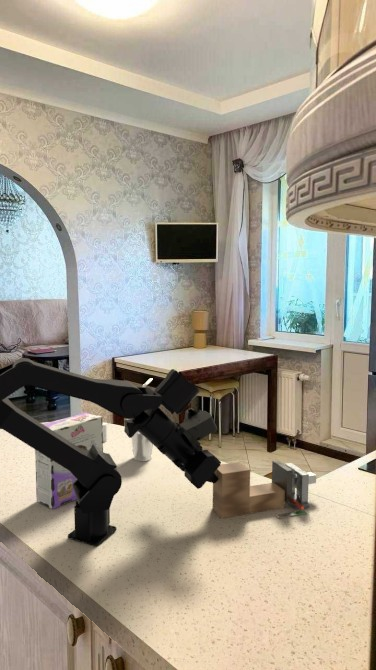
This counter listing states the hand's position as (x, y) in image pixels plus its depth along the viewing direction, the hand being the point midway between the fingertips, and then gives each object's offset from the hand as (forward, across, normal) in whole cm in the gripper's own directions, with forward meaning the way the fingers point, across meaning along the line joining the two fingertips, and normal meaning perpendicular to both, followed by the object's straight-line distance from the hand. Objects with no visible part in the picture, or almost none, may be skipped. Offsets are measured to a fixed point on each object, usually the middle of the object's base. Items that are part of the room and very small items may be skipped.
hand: (216, 480), depth 99 cm
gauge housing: (+15, -1, -6) cm, 16 cm away
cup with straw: (+1, +35, +9) cm, 36 cm away
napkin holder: (-6, +54, +17) cm, 57 cm away
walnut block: (+10, 0, 0) cm, 10 cm away
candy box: (-13, +18, +23) cm, 33 cm away
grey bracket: (+17, -2, -9) cm, 19 cm away
